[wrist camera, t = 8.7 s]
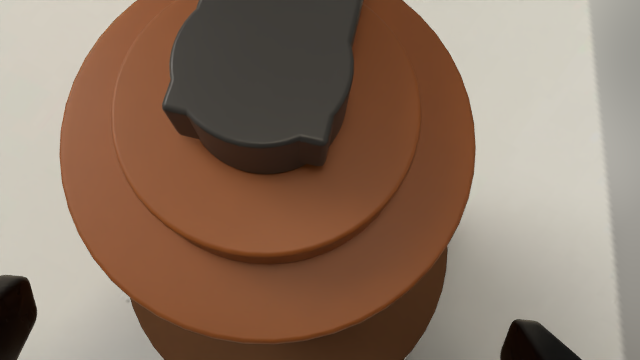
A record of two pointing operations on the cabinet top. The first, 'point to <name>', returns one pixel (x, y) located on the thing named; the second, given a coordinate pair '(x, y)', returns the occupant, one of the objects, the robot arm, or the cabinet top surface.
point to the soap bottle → (267, 161)
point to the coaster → (323, 352)
